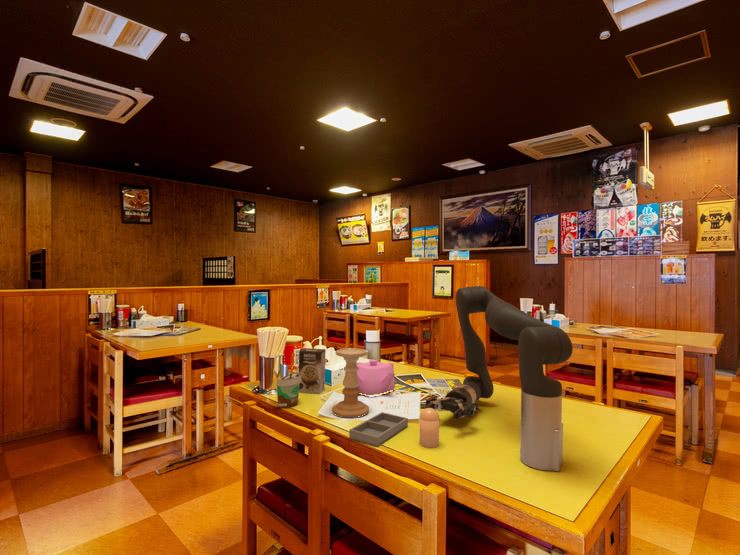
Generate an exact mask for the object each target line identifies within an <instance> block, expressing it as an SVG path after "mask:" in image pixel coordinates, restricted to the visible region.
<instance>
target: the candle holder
mask: <svg viewBox="0 0 740 555" xmlns="http://www.w3.org/2000/svg"><path fill="white" fill-rule="evenodd" d="M367 354H368V351H367V350H366V349H363V348H356V347H355V348H353V347H352V348H349V347H347V348H340V349H337V350H335V355H336V356H338V357H340V358H341V357H342V358H343V360H344V361H345V363H346V364H345V366H344V367H343V370H344V372H345V374H344V378H343V380H342V385H343V387H344V388H343V389H342V390H341V391H342V392H341V393H342V394H343V400H341V401H339V402H337V403H336V404H334V405H333V406H332V408H331V409H332V410H331V412H332V414H333V413H334V414H333V415H335V414H336V415H338V416H337V417H339V416H342V417H341V418H344V417H357V418H359V417H358V416H362V415H364V414H367V413H368V412H369V413H370V406H369V405H368V404H366V403H364V402H363V401H361V400H359V397H358V396H359V395H360V394H359V393H360V390H359V389H358V388H357V387H358V386H359V380H358V376H357V371H358V370H359V368H358V367H357V365H356V363H358V360H360V358H361V357H362V358H363V357H365V356H367ZM369 413H368V414H369ZM368 414H367V415H368ZM336 415H335V416H336ZM362 417H363V416H362Z"/></svg>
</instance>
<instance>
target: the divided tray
mask: <svg viewBox="0 0 740 555" xmlns="http://www.w3.org/2000/svg"><path fill="white" fill-rule="evenodd" d="M408 427H409V418H408V417H406V416H405V417H404V416H402V415H401V416H400V415H397V414H396V415H395V414H392V413H389V412H388V413H387V412H383V411H381V412H379V413H378V414H376V415H374V416H372V417H371V418H368V419H367V420H365V421H363V422H361V423H360V424H357V425H356V426H354V427H352V428H350V429H349V432H348V434H349V435H348V439H349V440H353V441H356V442H359V443H363V444H365V445H369V446H372V447H376V448H378V447H379V446H381V445H383V444H384V443H385V442H387V441H389V440H390V439H392V438H393V437H395V436H396V435H398V434H400V432H402V431H403V430H405V429H406V428H408Z"/></svg>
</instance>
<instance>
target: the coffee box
mask: <svg viewBox="0 0 740 555" xmlns="http://www.w3.org/2000/svg"><path fill="white" fill-rule="evenodd" d="M326 351H327V350H326V349H324V348H323V349H322V348H307V347H304V348H301V349H300V350H299V351H298V373H299V374H300V376H301V380H302V381H301V382H300V384H299V393H303V394H316V395H317V394H319V395H320V394H322V393H323V392H325V390H326V386H325V383H326V382H325V381H326V353H327V352H326Z"/></svg>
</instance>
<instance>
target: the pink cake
mask: <svg viewBox="0 0 740 555" xmlns="http://www.w3.org/2000/svg"><path fill="white" fill-rule="evenodd" d="M356 365H357V367H358V368H359V370H358V371H357V376H358V380H359V386H358V387H357V388H358V389H359V390H360V393H362V394H366V395H374V394H380V393H384V392H387V391H390V390H393V389H394V390H395V386H396V385H395V384H396V382H395V381H396V380H395V376H396V373H395V370H394V363H392V362H381V361H379V360H377V359H373V358H372V359H370V360H369V361H367V362H357V363H356Z"/></svg>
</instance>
